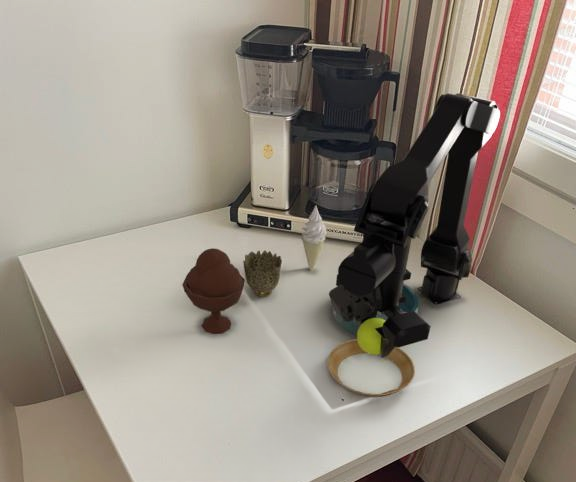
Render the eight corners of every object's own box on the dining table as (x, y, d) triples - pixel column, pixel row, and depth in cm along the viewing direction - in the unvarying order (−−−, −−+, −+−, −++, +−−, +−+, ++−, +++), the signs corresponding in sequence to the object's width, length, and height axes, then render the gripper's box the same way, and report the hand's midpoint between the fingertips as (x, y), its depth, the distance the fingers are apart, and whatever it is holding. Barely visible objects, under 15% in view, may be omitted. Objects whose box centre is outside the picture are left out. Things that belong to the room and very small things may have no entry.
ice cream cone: (327, 269, 130) (333, 204, 120) (315, 280, 127) (320, 213, 117) (307, 262, 132) (311, 197, 122) (294, 273, 129) (297, 206, 119)
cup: (276, 307, 119) (277, 272, 114) (239, 302, 120) (238, 267, 115) (284, 287, 125) (285, 252, 119) (249, 282, 126) (248, 247, 120)
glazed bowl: (386, 286, 126) (389, 268, 123) (431, 328, 116) (435, 310, 113) (318, 303, 121) (320, 285, 118) (359, 349, 110) (361, 331, 108)
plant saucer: (365, 339, 113) (367, 327, 111) (429, 379, 105) (432, 367, 103) (308, 373, 105) (309, 362, 103) (373, 419, 97) (375, 407, 96)
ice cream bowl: (175, 325, 114) (166, 254, 104) (219, 301, 120) (215, 232, 110) (213, 351, 109) (208, 279, 99) (257, 324, 115) (257, 254, 105)
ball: (379, 335, 104) (383, 307, 100) (398, 356, 100) (404, 327, 96) (348, 344, 102) (352, 315, 98) (366, 366, 98) (371, 336, 94)
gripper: (310, 244, 94) (305, 325, 104) (373, 309, 81) (360, 394, 92) (372, 230, 97) (361, 311, 108) (441, 291, 85) (421, 375, 96)
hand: (374, 345), depth 101 cm, fingers closed on ball, 6 cm apart
